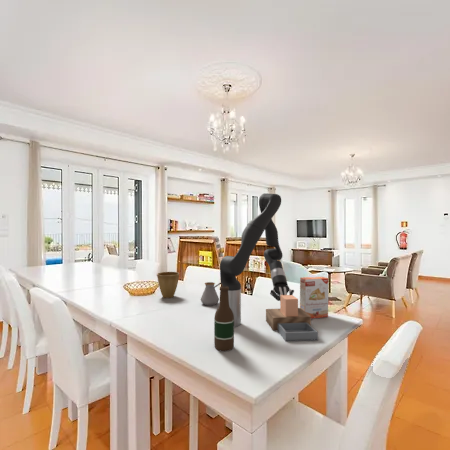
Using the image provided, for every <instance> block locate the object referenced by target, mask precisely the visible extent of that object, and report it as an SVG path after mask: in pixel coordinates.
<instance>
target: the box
mask: <svg viewBox="0 0 450 450" xmlns="http://www.w3.org/2000/svg"><path fill="white" fill-rule="evenodd" d="M277 333H278V334H279V335H280V336H281V338H282V339H283V340H284V341H285V342H305V341H306V342H307V341H308V342H309V341H318V340H319V332H318V331H317V330H316V329H315V328H314V327H313V326H312V324H311V325H309V324H308V323H278V331H277Z"/></svg>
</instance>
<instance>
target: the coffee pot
mask: <svg viewBox="0 0 450 450" xmlns="http://www.w3.org/2000/svg"><path fill="white" fill-rule="evenodd" d="M204 285H205V287H204V289H203V290H204V291H203V292H202V295H201V297H200V302H201V303H202V304H203V305H204V306H215V305H216V304H217V303H219V302H220V297H219V295H218V293H217V290H216V288H217V287H218V286H220V285H222V284H221V281H220V282H219V283H218V284H216V283H215V282H212V281H209V282H208V281H207V282H205V283H204Z"/></svg>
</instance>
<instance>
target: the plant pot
mask: <svg viewBox="0 0 450 450" xmlns="http://www.w3.org/2000/svg"><path fill="white" fill-rule="evenodd" d="M156 276H157V282H158V286H159V290H160V294H161V295H162V298H163V299H171V298H174V296H175V294H176V291H177V287H178V283H179V277H180V273H179V272H177V271H163V272H161V271H160V272H158V273H156Z"/></svg>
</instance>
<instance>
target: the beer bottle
mask: <svg viewBox="0 0 450 450" xmlns="http://www.w3.org/2000/svg"><path fill="white" fill-rule="evenodd" d="M228 290H229V287H227V286H222V285H221V286H220V287H219V301H218V303H219V304H218V307H217V309H216V310H215V314H214V320H213V321H214V322H213V324H214V327H213V328H214V329H213V330H214V331H213V332H214V336H213V337H214V339H213V341H214V342H213V343H214V344H213V345H214V348H215V349H216V350H217V351H220V350H221V351H220V352H227V351H231V350H232V349H233V348H234V345H235V327H234V314H233V312H232V310H231V308H230V306H229V295H228Z"/></svg>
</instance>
